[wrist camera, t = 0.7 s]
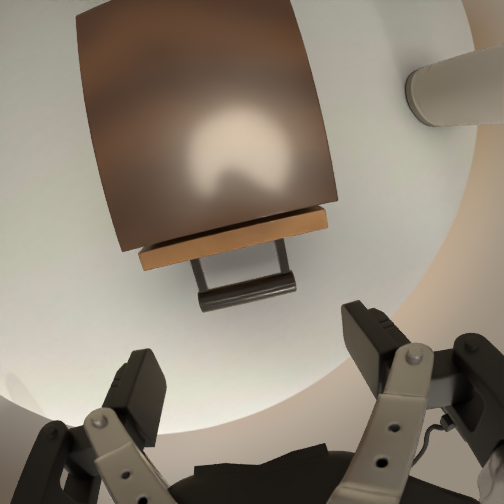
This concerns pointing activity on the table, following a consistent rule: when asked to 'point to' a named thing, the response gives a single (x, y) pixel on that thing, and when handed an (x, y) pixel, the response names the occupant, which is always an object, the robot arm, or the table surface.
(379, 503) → the robot arm
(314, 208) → the drawer
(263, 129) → the cabinet
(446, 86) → the travel mug
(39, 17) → the table surface
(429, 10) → the table surface
